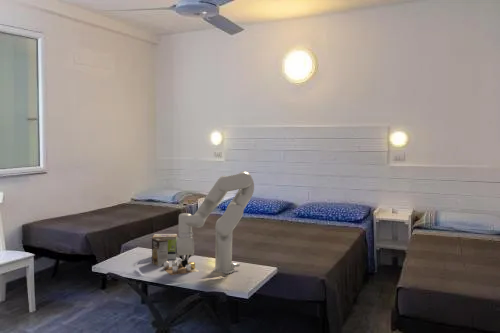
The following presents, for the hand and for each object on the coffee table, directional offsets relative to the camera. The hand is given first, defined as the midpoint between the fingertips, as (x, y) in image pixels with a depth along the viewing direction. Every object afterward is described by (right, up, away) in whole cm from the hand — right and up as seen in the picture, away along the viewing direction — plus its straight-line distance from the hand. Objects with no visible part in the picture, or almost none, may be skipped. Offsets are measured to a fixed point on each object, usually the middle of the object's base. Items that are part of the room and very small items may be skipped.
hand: (184, 266), depth 245 cm
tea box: (-17, -1, +28) cm, 33 cm away
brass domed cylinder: (+3, -1, +2) cm, 4 cm away
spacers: (-4, -1, -2) cm, 5 cm away
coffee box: (-17, -2, +10) cm, 19 cm away
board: (-2, -3, -1) cm, 4 cm away
